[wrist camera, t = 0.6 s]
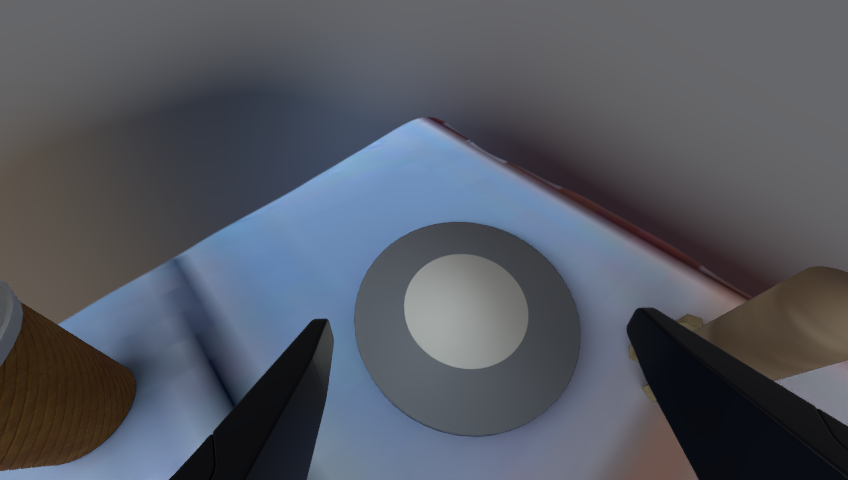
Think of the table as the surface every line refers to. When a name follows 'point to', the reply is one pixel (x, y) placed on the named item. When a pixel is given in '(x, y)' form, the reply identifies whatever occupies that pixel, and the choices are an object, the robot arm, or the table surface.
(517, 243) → the disc
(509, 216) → the table surface
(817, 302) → the gear
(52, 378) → the disposable coffee cup
